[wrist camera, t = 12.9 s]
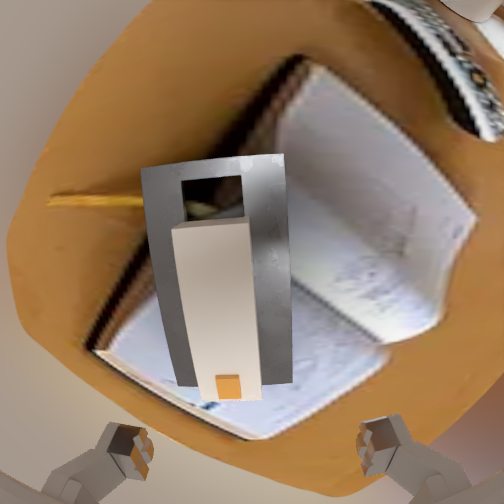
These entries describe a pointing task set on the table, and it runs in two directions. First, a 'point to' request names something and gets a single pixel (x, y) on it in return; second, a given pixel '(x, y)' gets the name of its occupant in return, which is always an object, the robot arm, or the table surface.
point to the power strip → (220, 306)
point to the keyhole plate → (263, 252)
